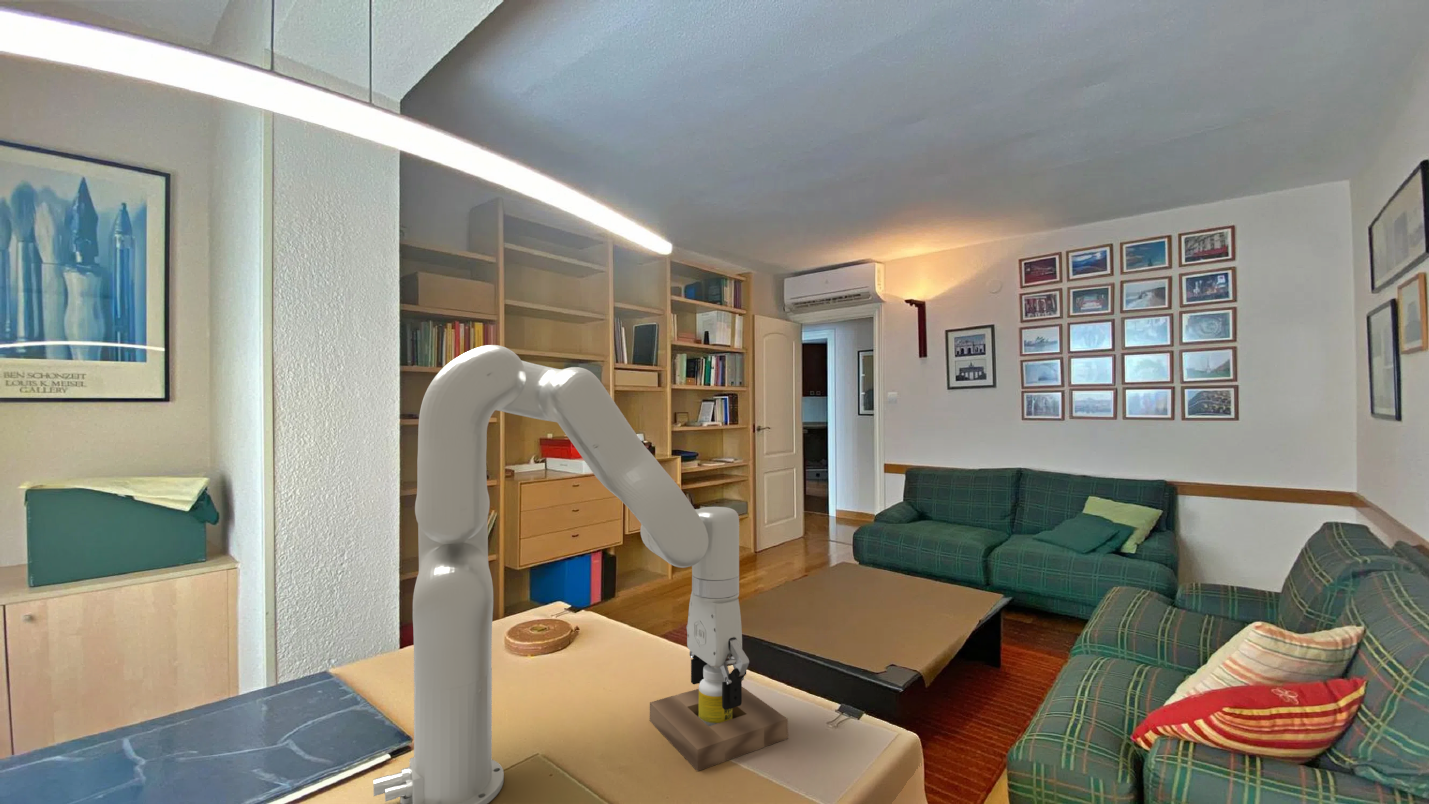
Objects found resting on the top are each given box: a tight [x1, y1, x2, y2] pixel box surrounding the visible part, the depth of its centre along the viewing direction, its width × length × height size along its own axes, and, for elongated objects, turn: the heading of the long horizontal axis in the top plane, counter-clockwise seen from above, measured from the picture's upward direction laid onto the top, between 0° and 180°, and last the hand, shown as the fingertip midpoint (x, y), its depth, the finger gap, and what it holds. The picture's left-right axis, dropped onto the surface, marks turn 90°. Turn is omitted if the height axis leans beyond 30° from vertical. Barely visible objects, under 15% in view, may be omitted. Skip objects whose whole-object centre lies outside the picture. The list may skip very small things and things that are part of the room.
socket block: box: [649, 686, 789, 772], centre depth 94 cm, size 16×16×3 cm
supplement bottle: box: [698, 664, 732, 726], centre depth 94 cm, size 5×5×10 cm
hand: (715, 693), depth 94 cm, fingers open, 9 cm apart
